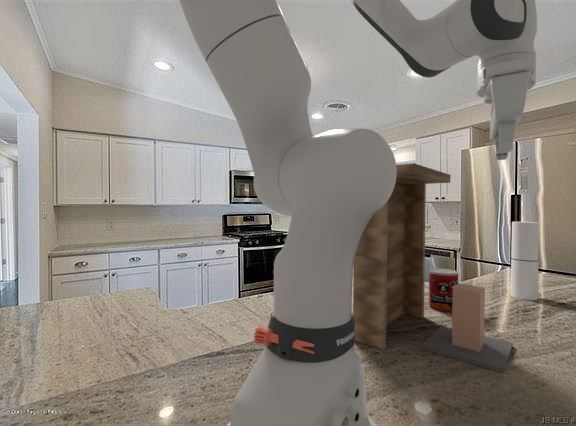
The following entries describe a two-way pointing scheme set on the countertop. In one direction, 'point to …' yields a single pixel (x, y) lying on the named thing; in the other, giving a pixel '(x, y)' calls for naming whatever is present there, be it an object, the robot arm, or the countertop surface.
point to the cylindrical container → (525, 260)
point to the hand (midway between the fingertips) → (503, 156)
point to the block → (468, 316)
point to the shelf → (393, 257)
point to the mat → (489, 356)
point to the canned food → (442, 288)
